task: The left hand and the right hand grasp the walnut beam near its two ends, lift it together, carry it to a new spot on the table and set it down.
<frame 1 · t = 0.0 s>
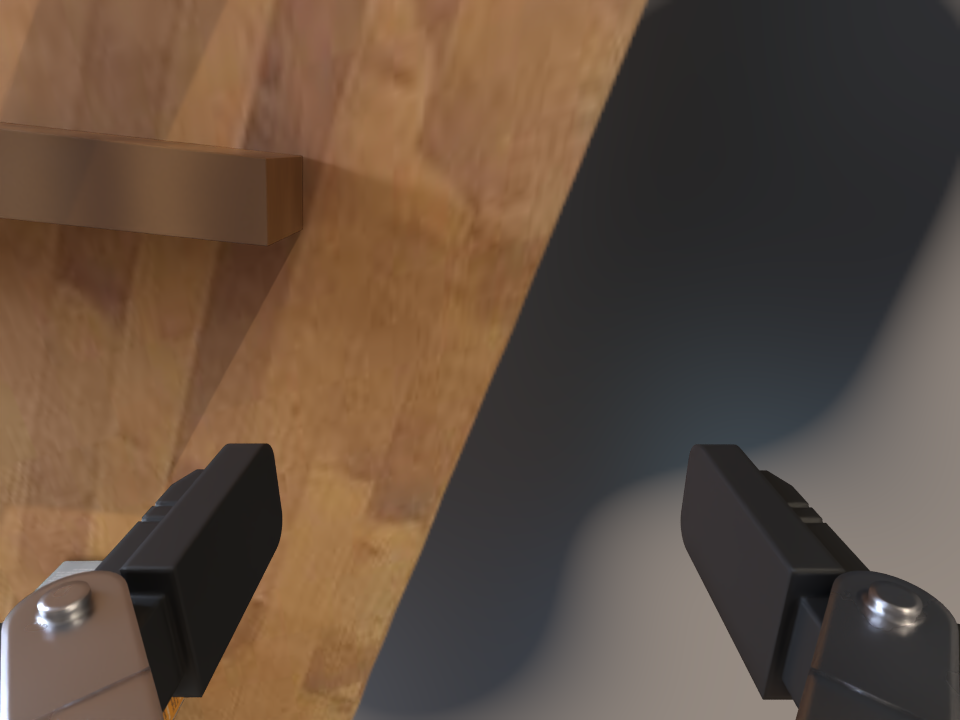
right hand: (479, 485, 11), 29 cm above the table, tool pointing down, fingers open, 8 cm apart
hard drive box: (129, 629, 50), on the table
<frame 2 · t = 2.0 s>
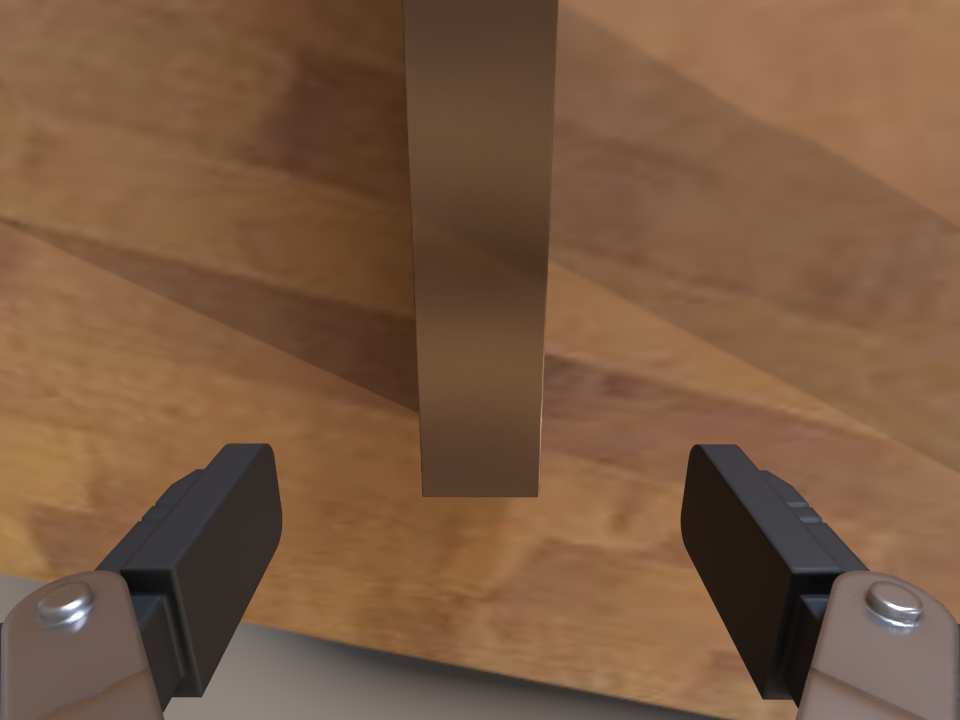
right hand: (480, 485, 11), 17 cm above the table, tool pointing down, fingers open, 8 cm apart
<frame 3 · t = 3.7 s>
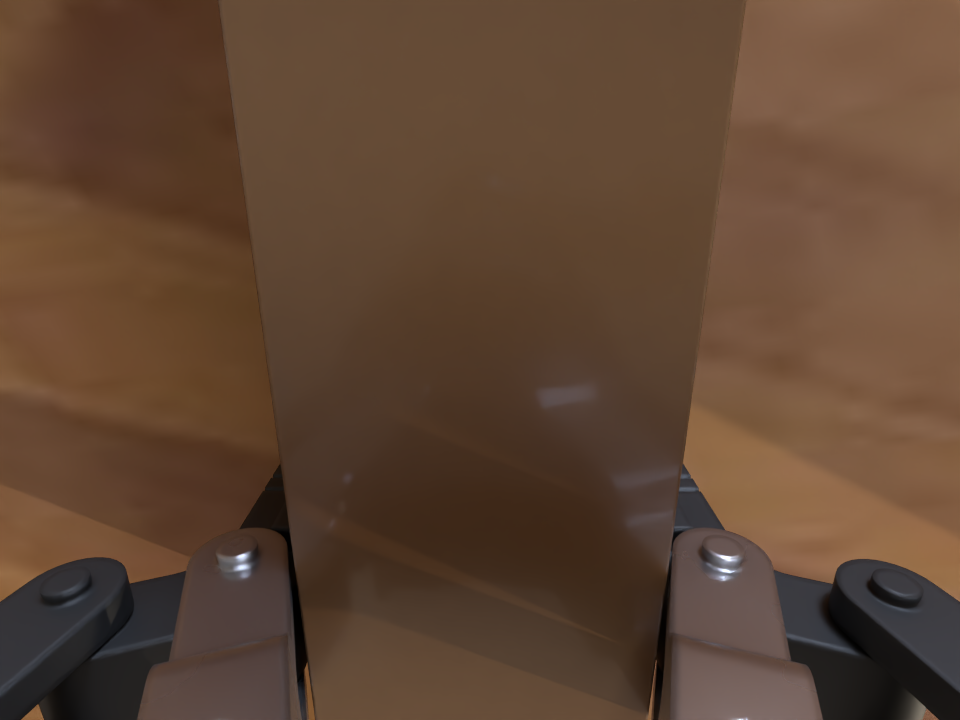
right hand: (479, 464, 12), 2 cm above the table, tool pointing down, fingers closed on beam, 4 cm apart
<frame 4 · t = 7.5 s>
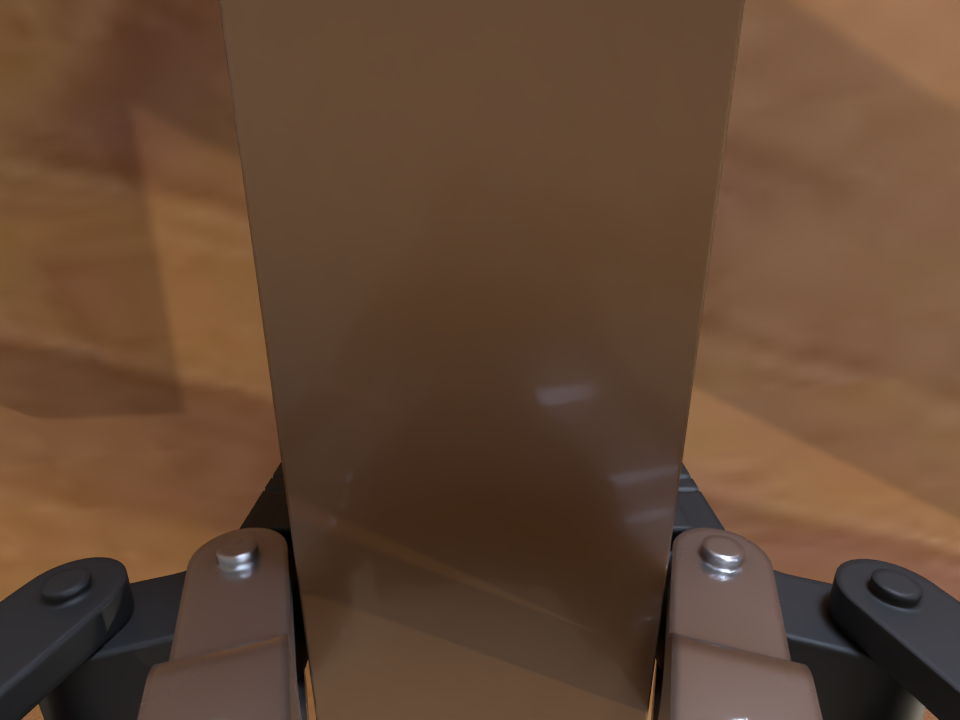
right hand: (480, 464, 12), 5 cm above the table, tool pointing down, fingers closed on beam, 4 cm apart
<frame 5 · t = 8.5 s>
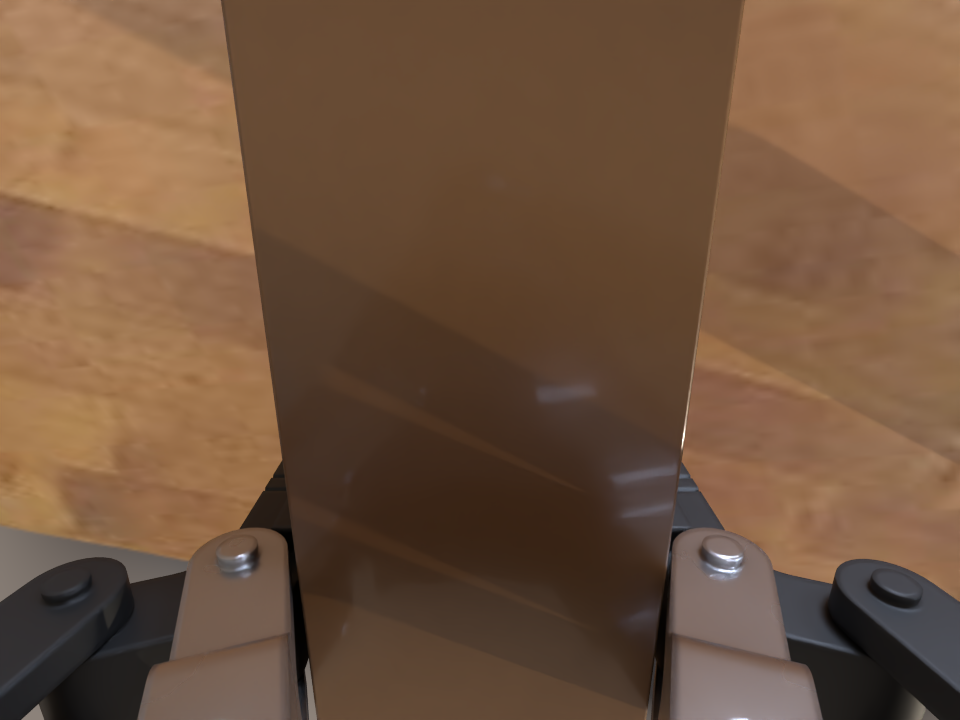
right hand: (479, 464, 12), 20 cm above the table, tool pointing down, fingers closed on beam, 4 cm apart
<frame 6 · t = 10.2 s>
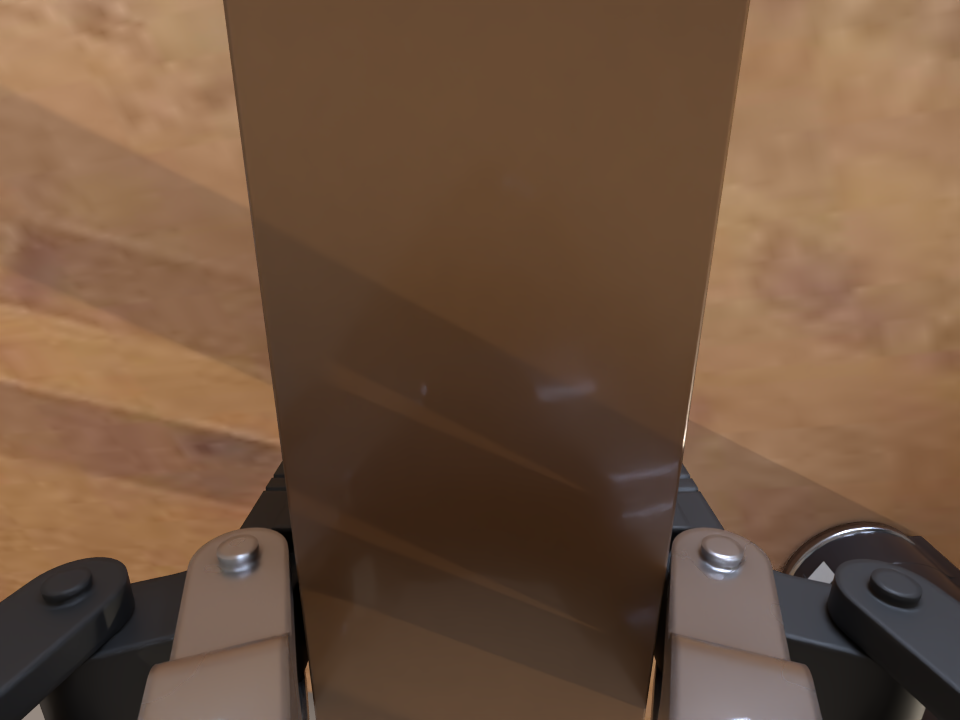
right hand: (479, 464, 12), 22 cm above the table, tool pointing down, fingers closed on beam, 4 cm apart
when the left hand's fingers open (2 cm above the table, at t = 13.0 s): beam drops 1 cm, on the table.
when the right hand's fingers open (4 cm above the table, at t = 13.2 s): beam stays where it is, on the table.
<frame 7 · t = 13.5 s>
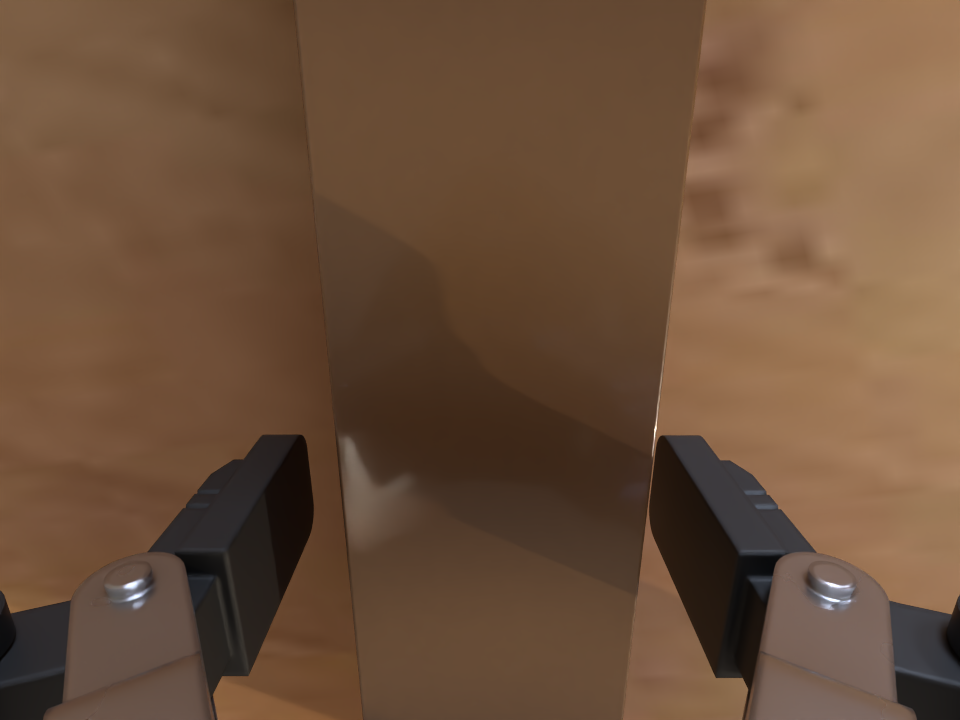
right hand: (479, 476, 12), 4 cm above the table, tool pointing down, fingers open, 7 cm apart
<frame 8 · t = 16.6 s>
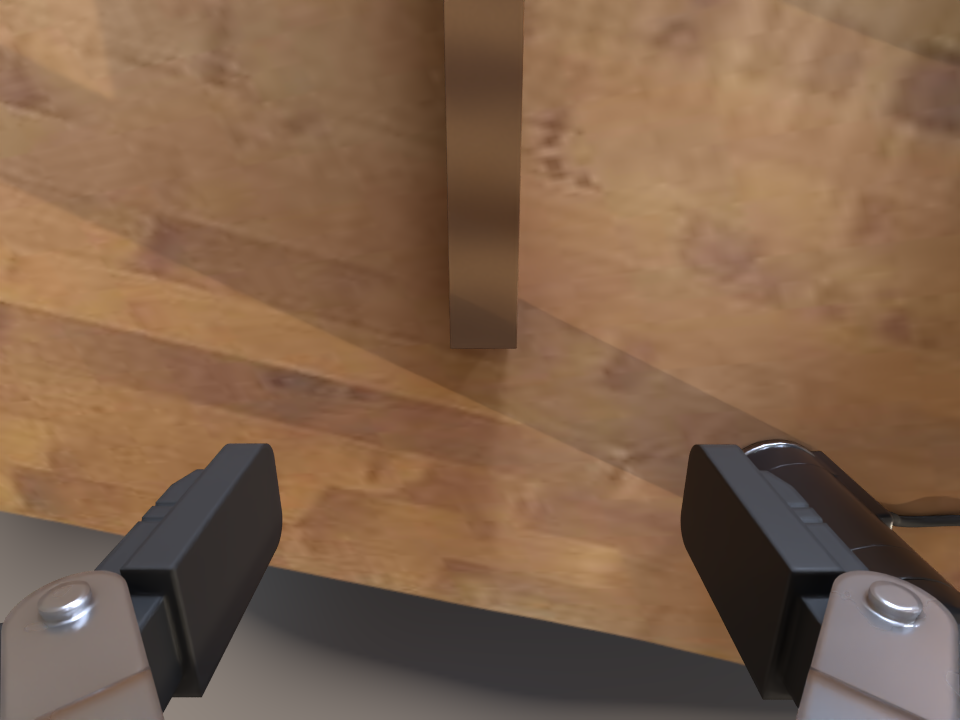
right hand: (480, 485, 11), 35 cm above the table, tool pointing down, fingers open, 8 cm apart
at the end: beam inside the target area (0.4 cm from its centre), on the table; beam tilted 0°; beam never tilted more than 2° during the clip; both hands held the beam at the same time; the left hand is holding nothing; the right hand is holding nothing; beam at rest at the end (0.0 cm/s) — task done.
